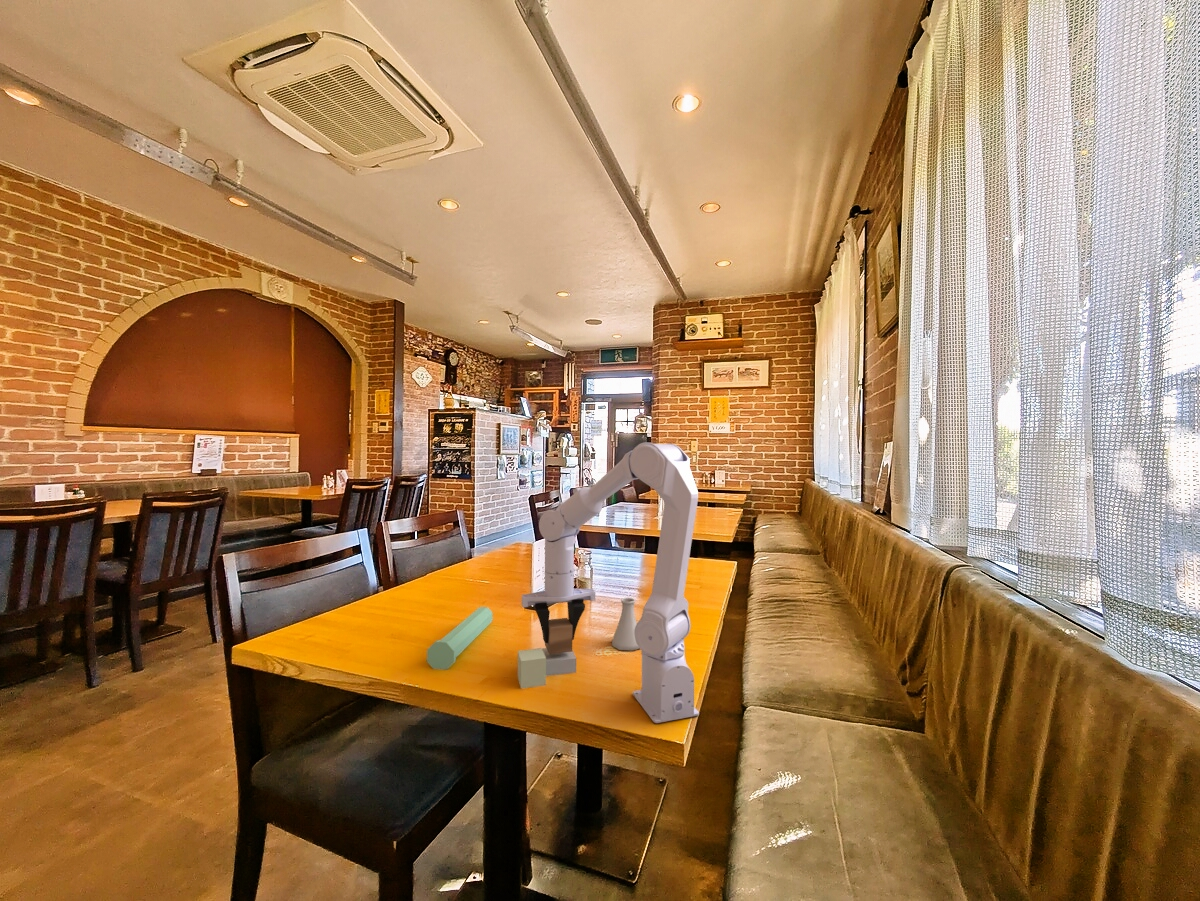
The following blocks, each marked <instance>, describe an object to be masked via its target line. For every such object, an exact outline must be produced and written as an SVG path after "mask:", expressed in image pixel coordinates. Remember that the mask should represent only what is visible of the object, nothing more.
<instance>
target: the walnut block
mask: <svg viewBox="0 0 1200 901" xmlns="http://www.w3.org/2000/svg"><path fill="white" fill-rule="evenodd" d="M544 647H545V648H547V650H548V652H549V654H556V653H564V652H572V650H573V640H572V624H571V623H570V621H569V620H568V617H561V618H555V619H554V618H552V619H549V640H548V643H545V642H544Z"/></svg>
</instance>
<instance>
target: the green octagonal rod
mask: <svg viewBox="0 0 1200 901" xmlns="http://www.w3.org/2000/svg"><path fill="white" fill-rule="evenodd" d="M493 615H494V614H493V611H492V610H491V609H490V608H489V607H488V606H479V607H478V608H477V609H476V610H474V611H473V612H472V613H471V614H469V616H468V617H466V618H465V619H464V620H463V621H461V622H460V623H459V624H458V625H457V626H455V627H454V628H453V629H452V630H450V631H449V632H448V633H447V634H446V635H445V636H444V637H442V638H441V639H439V640H438V639H436V640H435V641H434V643H432V644H431V645H430V646H429V647H428V648H427V649H426V662H427V663H428V665H430V667H431V668H432V669H433V670H442V671H443V670H445V671H446V670H448V669H449V668H450V667H451V666H453V664H455V662H456V661H457V660H456V658H457V657H458V656H460V654H461V653H462V652H463V651H464V650H465V649H466V648H467V647H469V645H471V644H472V642H473V641H474V640H475V639H476V638H477V637H478V636H479V635H480V634H482V632H483V631H484V630H485V629H486V628H487V627H488V626H489V625H490V624H492V622H493V619H494V618H493Z"/></svg>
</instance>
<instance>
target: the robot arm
mask: <svg viewBox="0 0 1200 901" xmlns="http://www.w3.org/2000/svg"><path fill="white" fill-rule="evenodd" d="M690 465H691V458H690V457H689V456H688V455H687V454H686V453H685V451H684V450H683V449H682V448H681V447H680V446H679V445H676V444H675V443H652V442H642V443H639V444H638V445H636V446H635V447H634V448H633V449H632V450H629V451H628V452H626V453H625V454H624V456H623V457H622V459H621V460H620V461H618V463H617V464H615V465H614V466H613V467H612V468H611V469H609V471H607V473H606V474H604V476H602V477H601V478H600V479H599V480H598V481H597V482H596V483H594V484H593V485H592V486H591V487H588V486H583V487H575V489H573V490H572V493H573V494H572V495H571V496H570V497H568V498H567V499H566V500H565V501H562V502H561V501H560V502H559V503H558V504H557V508H556V509H555V510H553V509H551V510H550V509H549V510H545V511H544V512H543V514H542V515H541V517H540V518H539V522H538V528H539V529H538V530H539V532H540V535H541V536H542V538H543V539H544V590H541V591H536V592H532V593H526V594H525V593H524V594H521V606H522V608H528V607H530V606H533V608H534V611H535V613H536V616H537V618H538V621H539V624H540V627H541V628H540V629H541V631H542V640H543V642H544V644H545V643H548V640H549V620H550V615H551V614H550V612H551V611H550V609H549V606H548V605H553V604H561V603H564V604H565V603H567V619H568V620H569V621H570V623H571V624H572V641H573V640H574V639H575V635H576V632H577V631H576V630H577V626H578V624H579V621H580V618H581V617H582V615H583V613H584V611H585V610H586V604H585V602H586V601H590V602H594V601H596V590H595V589H594V588H574V586H575V585H574V582H575V581H574V580H575V579H574V578H575V577H574V576H575V572H574V566H575V561H574V560H575V556H574V555H575V544H576V541H577V540H576V537H577V535H578V534H579V533H580V530H581V527H582V526H583V525H585V524H586V523H587V522H589V521H590V520H591V519H593V518H594V517H595V516H597V515H598V514H599V513H600V512H601V511H602V509H603V502H604V501H606V500H607V499H608V498H610V497H612V495H614V494H615V493H617V492H618V491H620V490H621V489H623V488H624V487H626V485H627V486H628V484H630V483H632V482H633V481H634V480H639V481H641V482H643V483H644V484H645V485H647V486H649V487H650V488H652V489H653V490H654V491H655V492H656V493H657V494H658V496H659V497H660V498H661V499H662V501H663V503H664V505H663V512H662V519H661V526H660V533H659V540H658V548H657V553H656V554H657V555H656V562H655V566H654V575H653V580H652V588H651V594H650V595H649V597H648V599H647V601H646V602H645V604H644V606H643V608H642V613H641V617H640V619H639V620H638V622H637V625H636V627H635V632H634V635H635V640H636V643H637V645H638V647H639V648H640V652H641V689H638V690H633V691H632V696H634V698H635V699H636V700H637V702H638V704H640V706H641V707H642V709H643V710H644V711H645V713H646V714H647V715H648V717H649V718H650V719H651V720H652V722H653V723H654V724H659V723H664V722H671V721H676V720H681V719H686V718H693V717H697V716H699V715H700V711H698V709H697V708H696V707H695V677H694V673H693V671H692V669H691V668H690V667H689V665H688V664H687V661H686V656H685V655H686V654H685V652H686V651H685V650H686V649H685V648H686V647H685V638H686V637H687V636H688V635H689V634H690V632H691V628H692V627H691V618H690V616H689V603H690V602H688V600H687V599H686V598H685V589H686V582H687V576H688V569H689V564H690V563H689V562H690V556H691V549H692V548H691V547H692V543H693V537H694V536H693V534H694V527H695V522H696V515H697V509H698V508H697V507H698V503H699V502H698V501H699V491H698V490H699V489H698V488H697V484H696V482H695V479H694V476H693V472H692V469H691V467H690ZM584 601H585V602H584Z"/></svg>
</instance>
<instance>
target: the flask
mask: <svg viewBox="0 0 1200 901" xmlns="http://www.w3.org/2000/svg"><path fill="white" fill-rule="evenodd" d="M620 602H621V604H622V606H621V612H620V613H621V614H620V617H619V620H618V624H617V627H616V629H615V632H614V635H613V638H612V641H611V646H612V647H614V648H615V649H617V650H619V651H636V650H639V649H640V648H639V647H638V645H637V643H636V640H635V635H634V632H635V627H636V625H637V623H638V622H637V619H636V616H635V615H636V614H635V604H636V599H635V598H633V597H621V600H620ZM640 650H641V649H640Z"/></svg>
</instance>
